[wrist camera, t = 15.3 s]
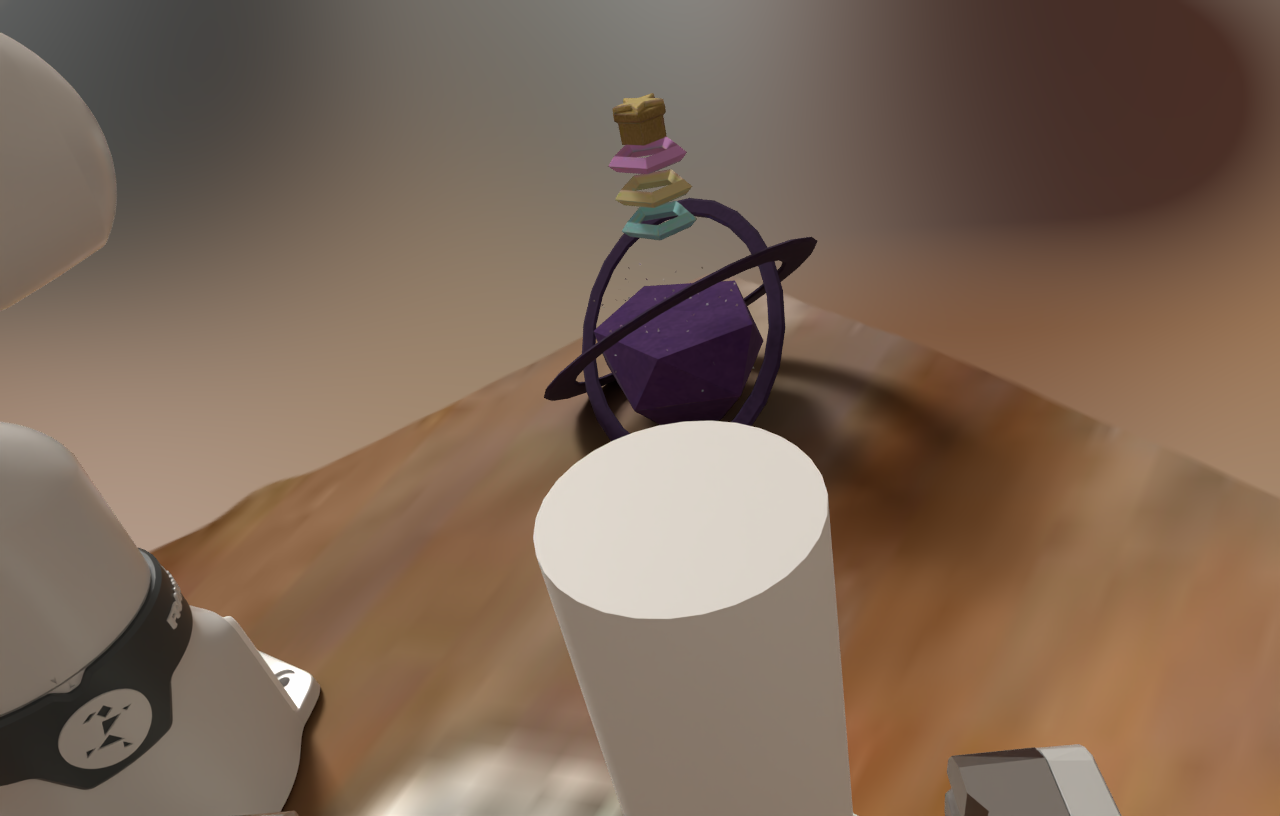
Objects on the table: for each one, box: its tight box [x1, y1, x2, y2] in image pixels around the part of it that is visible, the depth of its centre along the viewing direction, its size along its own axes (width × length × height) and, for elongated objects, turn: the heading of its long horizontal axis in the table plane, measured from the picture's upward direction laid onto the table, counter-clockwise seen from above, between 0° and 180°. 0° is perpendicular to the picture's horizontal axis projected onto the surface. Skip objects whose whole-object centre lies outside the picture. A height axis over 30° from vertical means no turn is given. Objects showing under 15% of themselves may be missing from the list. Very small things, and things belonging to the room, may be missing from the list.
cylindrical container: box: [533, 421, 853, 816], centre depth 27 cm, size 7×7×25 cm
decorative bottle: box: [544, 93, 817, 441], centre depth 64 cm, size 22×21×25 cm
